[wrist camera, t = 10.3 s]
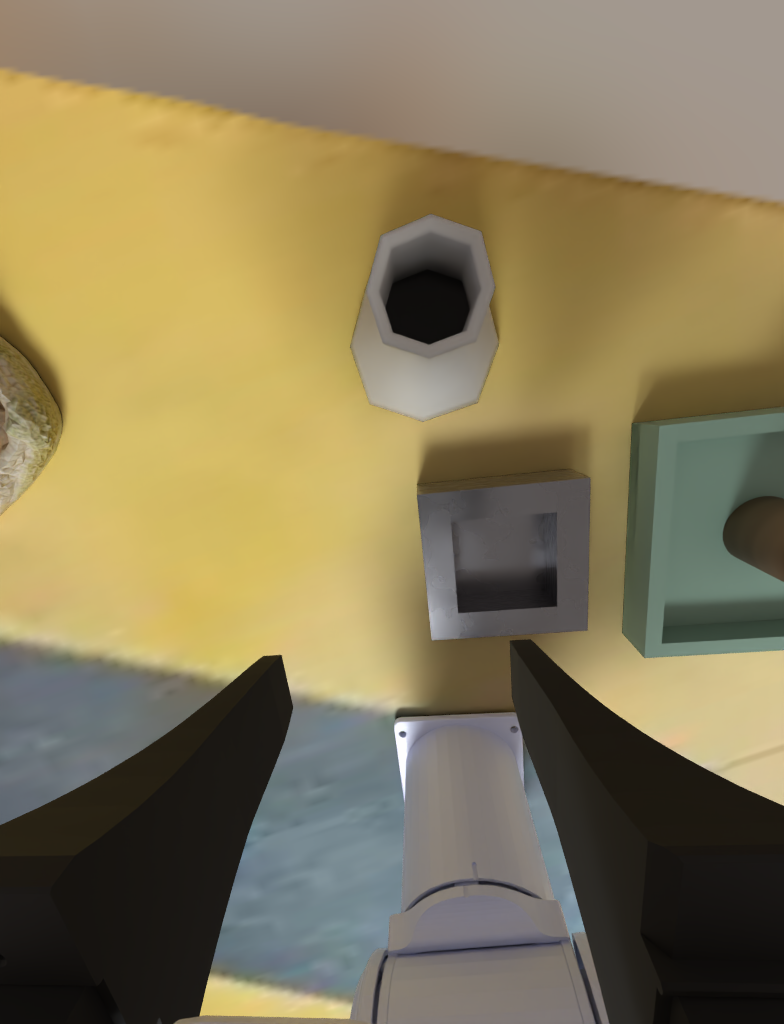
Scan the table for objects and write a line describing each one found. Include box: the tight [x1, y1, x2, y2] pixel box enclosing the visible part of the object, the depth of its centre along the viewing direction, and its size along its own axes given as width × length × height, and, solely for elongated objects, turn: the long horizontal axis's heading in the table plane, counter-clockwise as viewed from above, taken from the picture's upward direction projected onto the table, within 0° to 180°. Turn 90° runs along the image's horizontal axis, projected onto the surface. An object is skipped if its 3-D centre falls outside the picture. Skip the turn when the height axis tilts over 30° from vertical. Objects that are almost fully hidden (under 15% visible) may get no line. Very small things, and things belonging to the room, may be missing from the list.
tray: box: [622, 407, 784, 658], centre depth 19 cm, size 12×12×2 cm
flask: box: [350, 214, 499, 422], centre depth 14 cm, size 7×7×10 cm
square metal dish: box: [417, 469, 590, 640], centre depth 20 cm, size 8×8×2 cm
